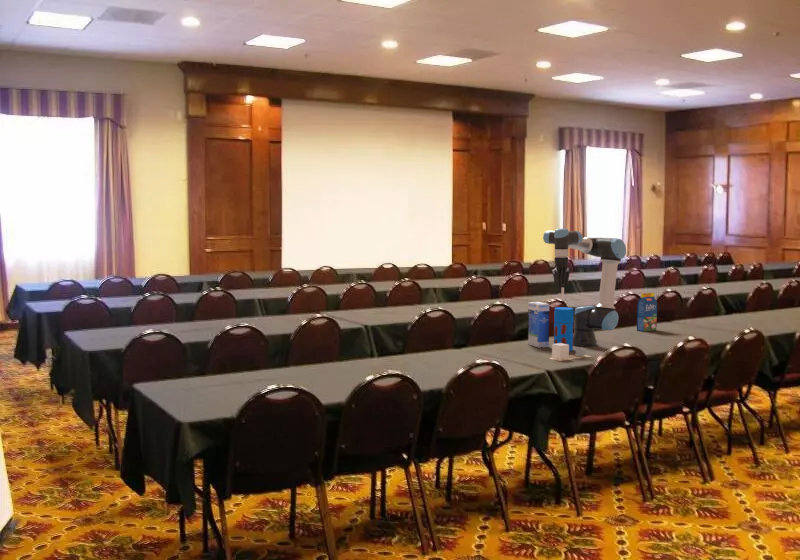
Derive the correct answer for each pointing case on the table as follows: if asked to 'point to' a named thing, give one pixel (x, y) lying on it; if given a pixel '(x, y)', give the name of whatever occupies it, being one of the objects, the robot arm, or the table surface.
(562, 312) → the thermos
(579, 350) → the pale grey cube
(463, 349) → the table surface
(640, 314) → the blue food package
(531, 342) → the string lights box
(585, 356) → the board
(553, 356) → the white tilted cube
